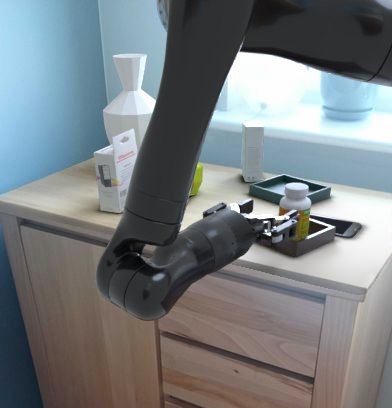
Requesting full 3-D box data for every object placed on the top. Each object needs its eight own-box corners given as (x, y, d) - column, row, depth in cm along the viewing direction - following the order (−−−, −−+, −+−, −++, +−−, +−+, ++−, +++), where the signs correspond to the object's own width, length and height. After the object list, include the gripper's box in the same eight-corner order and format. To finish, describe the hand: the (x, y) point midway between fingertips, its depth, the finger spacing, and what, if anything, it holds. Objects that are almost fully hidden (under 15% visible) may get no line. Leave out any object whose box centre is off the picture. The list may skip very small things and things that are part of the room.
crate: (334, 240, 100) (336, 226, 98) (295, 257, 94) (297, 243, 92) (288, 224, 106) (289, 211, 105) (250, 239, 100) (250, 226, 99)
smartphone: (351, 241, 100) (351, 236, 100) (274, 226, 107) (274, 221, 106) (363, 227, 106) (363, 223, 105) (289, 214, 112) (289, 209, 111)
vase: (97, 170, 137) (84, 56, 123) (143, 158, 145) (135, 50, 131) (132, 182, 129) (123, 61, 115) (179, 169, 137) (175, 55, 123)
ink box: (121, 197, 120) (115, 125, 112) (141, 201, 118) (136, 127, 110) (98, 210, 114) (90, 135, 105) (119, 214, 112) (112, 137, 104)
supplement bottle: (304, 247, 97) (309, 192, 92) (273, 243, 99) (277, 189, 93) (309, 236, 101) (315, 182, 96) (280, 232, 103) (284, 179, 98)
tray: (330, 196, 119) (331, 187, 118) (296, 209, 113) (297, 199, 112) (282, 182, 127) (283, 173, 126) (248, 194, 121) (249, 184, 120)
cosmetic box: (263, 182, 128) (266, 126, 121) (243, 182, 128) (245, 126, 121) (259, 174, 133) (261, 120, 126) (240, 174, 133) (242, 120, 126)
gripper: (257, 228, 75) (314, 196, 85) (175, 207, 82) (237, 179, 93) (254, 279, 79) (310, 242, 89) (177, 254, 86) (236, 222, 97)
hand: (273, 210), depth 91 cm, fingers open, 8 cm apart
